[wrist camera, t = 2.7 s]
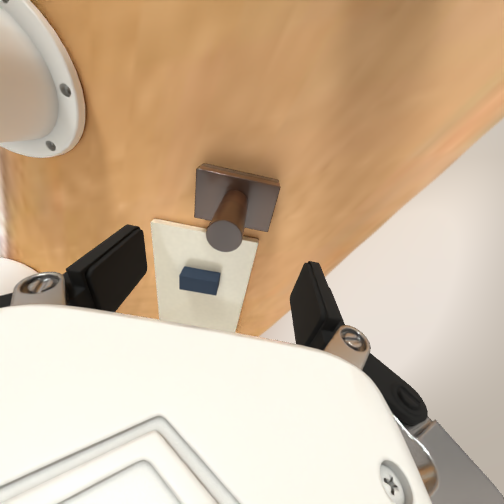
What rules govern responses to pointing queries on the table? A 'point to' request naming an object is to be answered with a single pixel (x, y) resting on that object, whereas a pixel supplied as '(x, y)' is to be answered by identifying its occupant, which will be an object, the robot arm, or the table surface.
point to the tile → (201, 257)
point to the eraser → (199, 280)
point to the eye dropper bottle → (12, 274)
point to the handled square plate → (233, 204)
